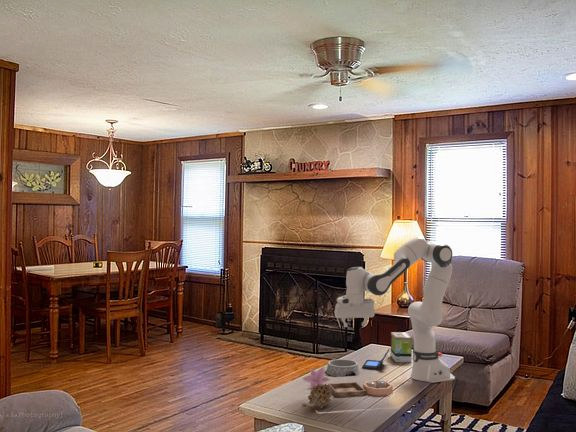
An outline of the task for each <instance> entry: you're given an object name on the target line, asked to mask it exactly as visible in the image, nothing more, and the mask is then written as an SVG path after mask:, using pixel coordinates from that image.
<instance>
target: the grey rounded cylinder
mask: <svg viewBox="0 0 576 432" xmlns="http://www.w3.org/2000/svg"><path fill="white" fill-rule="evenodd" d="M386 382H387V381H384V380H380V381H378V388H386Z"/></svg>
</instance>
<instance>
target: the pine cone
mask: <svg viewBox="0 0 576 432" xmlns="http://www.w3.org/2000/svg"><path fill="white" fill-rule="evenodd" d="M312 388H313V389H311V390H310V393H309V395H308V396H307V399H308V400H309V401H308V403H306V402H305V403H304V402H302V403H301V408H313V409H314V410H317V409H320V410H321V409H323V408H324V407H326V406H327V404H328V403H330V401H331V398H332V394H333V393H332V392H331V391H332V389H330V387H328V384H326V383H324V385H321V384H320V385H319V384H317V386H314V387H312Z"/></svg>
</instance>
